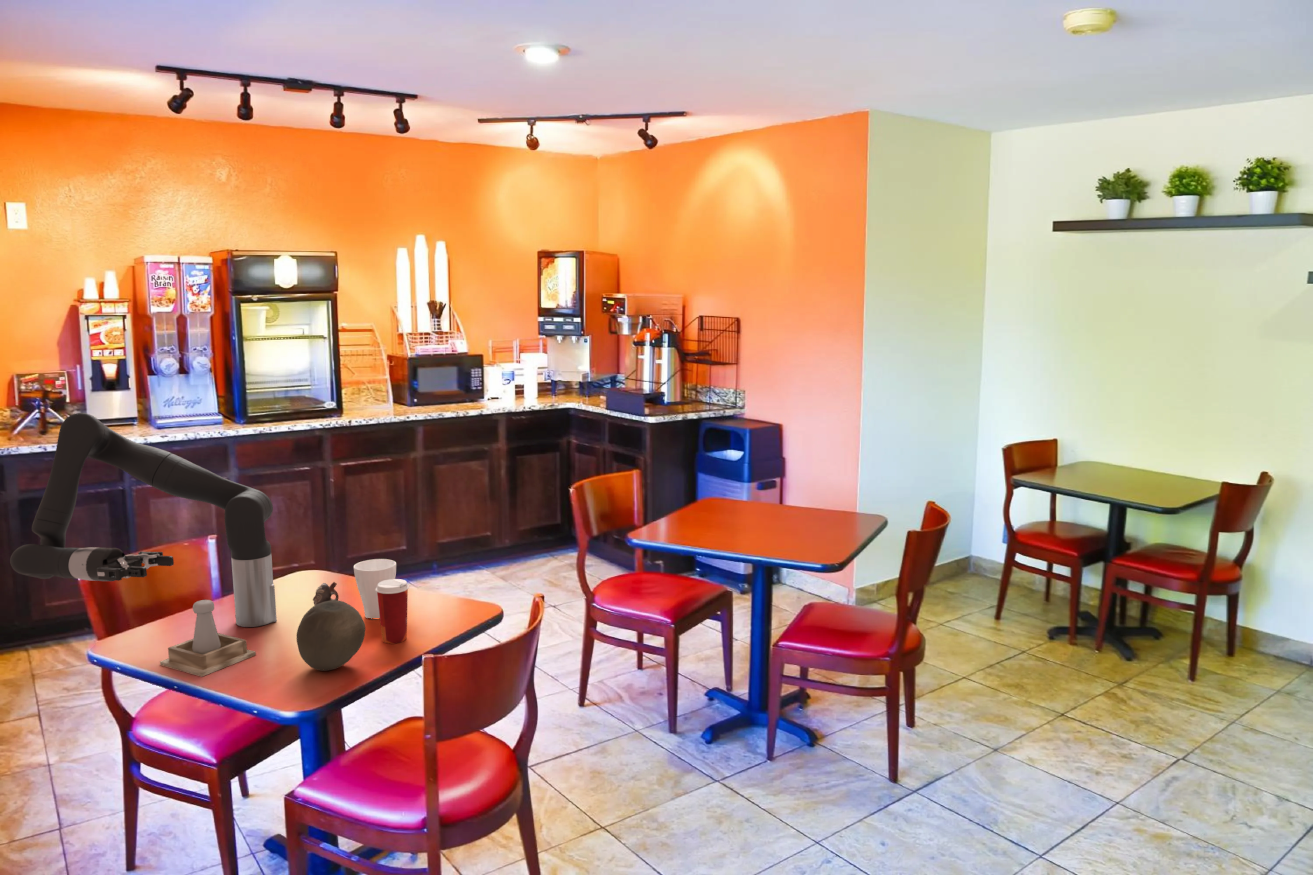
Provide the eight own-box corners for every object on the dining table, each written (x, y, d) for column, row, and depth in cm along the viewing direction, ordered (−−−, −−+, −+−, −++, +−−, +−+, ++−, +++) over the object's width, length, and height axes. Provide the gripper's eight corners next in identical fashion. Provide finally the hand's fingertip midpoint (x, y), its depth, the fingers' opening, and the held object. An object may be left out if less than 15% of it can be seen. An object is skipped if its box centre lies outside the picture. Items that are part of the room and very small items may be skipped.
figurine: (311, 627, 234) (308, 580, 232) (341, 623, 237) (339, 577, 235) (313, 637, 228) (310, 589, 226) (344, 632, 230) (341, 585, 228)
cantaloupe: (306, 686, 199) (302, 618, 197) (292, 663, 211) (288, 599, 209) (373, 671, 207) (370, 606, 204) (356, 651, 219) (353, 588, 216)
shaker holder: (215, 644, 223) (213, 628, 222) (255, 654, 216) (254, 639, 216) (160, 664, 211) (158, 648, 210) (201, 676, 204) (200, 660, 204)
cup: (407, 613, 244) (404, 562, 242) (375, 625, 235) (372, 573, 233) (379, 606, 250) (376, 556, 248) (347, 617, 241) (344, 566, 239)
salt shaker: (209, 662, 210) (205, 606, 208) (187, 660, 211) (182, 604, 209) (226, 652, 215) (222, 598, 213) (204, 650, 217) (200, 596, 215)
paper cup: (417, 636, 228) (415, 580, 226) (396, 647, 221) (394, 589, 219) (392, 631, 231) (389, 576, 229) (370, 642, 224) (367, 585, 222)
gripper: (70, 556, 208) (134, 559, 205) (119, 539, 222) (179, 541, 219) (74, 589, 209) (138, 592, 206) (122, 570, 223) (182, 573, 220)
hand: (159, 566), depth 212 cm, fingers open, 8 cm apart
